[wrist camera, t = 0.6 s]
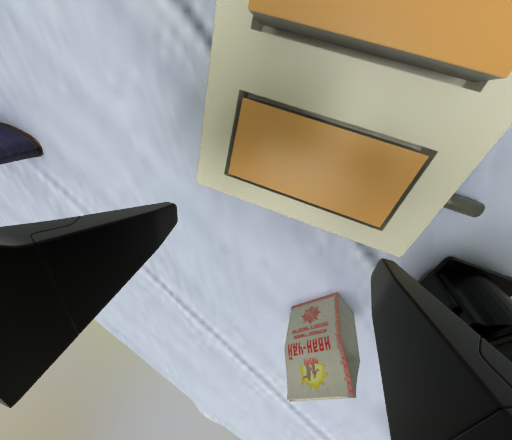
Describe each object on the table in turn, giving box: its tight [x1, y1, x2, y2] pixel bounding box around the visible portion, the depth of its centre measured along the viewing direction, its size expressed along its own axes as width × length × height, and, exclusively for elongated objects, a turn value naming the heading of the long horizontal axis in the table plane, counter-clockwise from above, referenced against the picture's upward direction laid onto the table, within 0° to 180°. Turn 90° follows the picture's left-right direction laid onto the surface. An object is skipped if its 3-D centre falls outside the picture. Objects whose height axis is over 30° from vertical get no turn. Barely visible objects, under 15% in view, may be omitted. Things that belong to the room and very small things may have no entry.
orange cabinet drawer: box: [228, 98, 429, 228], centre depth 17 cm, size 13×6×3 cm, turn 76°
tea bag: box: [285, 292, 360, 402], centre depth 24 cm, size 4×7×10 cm, turn 130°
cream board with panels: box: [196, 0, 512, 258], centre depth 12 cm, size 23×30×3 cm
